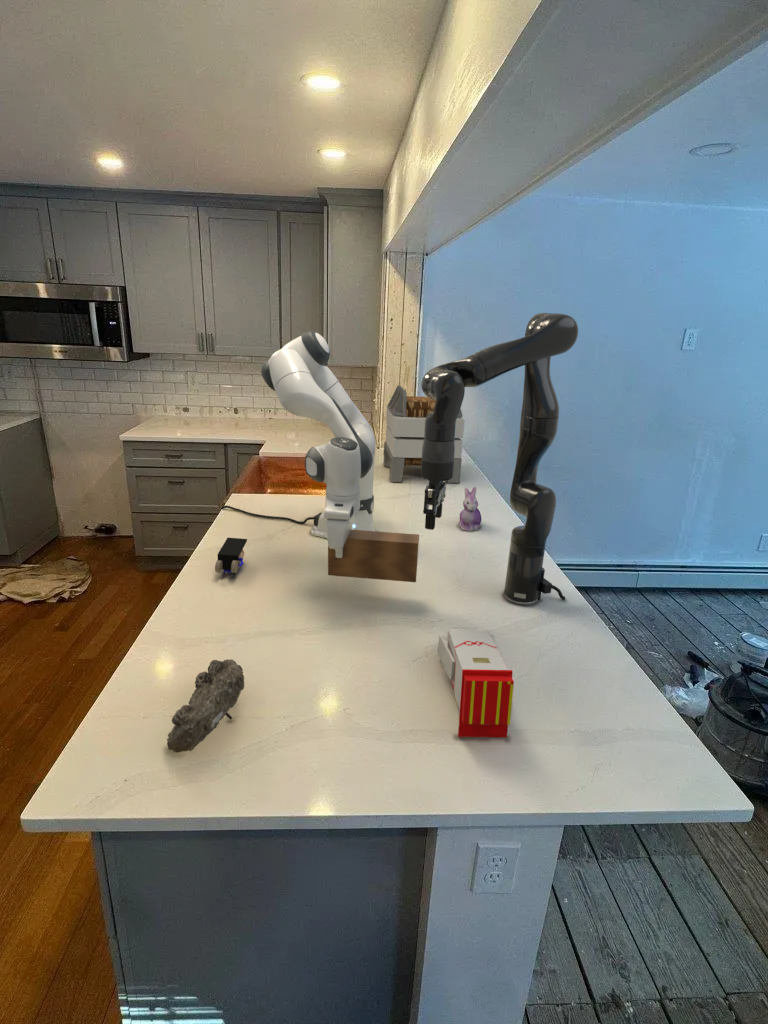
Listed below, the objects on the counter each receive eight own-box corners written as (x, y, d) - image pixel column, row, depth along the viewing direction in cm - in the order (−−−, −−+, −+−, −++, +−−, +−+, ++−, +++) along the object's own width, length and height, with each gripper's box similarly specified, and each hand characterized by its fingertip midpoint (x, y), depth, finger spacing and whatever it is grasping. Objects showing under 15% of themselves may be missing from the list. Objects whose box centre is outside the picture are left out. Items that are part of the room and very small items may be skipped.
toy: (488, 613, 130) (523, 677, 101) (484, 667, 133) (517, 744, 104) (435, 612, 130) (455, 676, 101) (432, 666, 133) (451, 743, 103)
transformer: (382, 463, 289) (386, 382, 275) (445, 464, 293) (451, 384, 279) (390, 482, 257) (394, 392, 243) (460, 483, 261) (468, 394, 247)
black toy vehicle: (238, 584, 162) (249, 557, 175) (236, 562, 158) (247, 536, 172) (215, 584, 161) (227, 556, 175) (212, 561, 158) (225, 535, 171)
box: (327, 575, 150) (327, 536, 146) (332, 565, 155) (332, 528, 151) (415, 582, 148) (418, 543, 144) (416, 572, 153) (419, 534, 149)
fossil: (192, 660, 117) (244, 628, 112) (224, 691, 120) (276, 661, 115) (142, 746, 98) (202, 712, 93) (182, 779, 101) (242, 748, 96)
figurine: (467, 533, 203) (471, 493, 198) (451, 523, 211) (454, 485, 206) (488, 529, 207) (492, 490, 202) (471, 520, 215) (475, 482, 210)
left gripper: (338, 488, 155) (337, 535, 160) (322, 514, 136) (322, 566, 141) (360, 490, 155) (359, 537, 159) (348, 516, 136) (347, 568, 140)
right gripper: (448, 467, 124) (443, 535, 129) (458, 452, 137) (453, 515, 142) (415, 463, 126) (411, 531, 131) (428, 449, 139) (424, 511, 144)
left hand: (341, 551), depth 150 cm, fingers closed on box, 6 cm apart
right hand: (433, 522), depth 137 cm, fingers open, 8 cm apart
